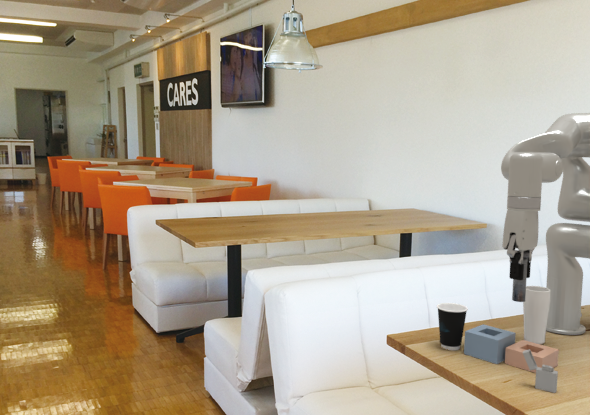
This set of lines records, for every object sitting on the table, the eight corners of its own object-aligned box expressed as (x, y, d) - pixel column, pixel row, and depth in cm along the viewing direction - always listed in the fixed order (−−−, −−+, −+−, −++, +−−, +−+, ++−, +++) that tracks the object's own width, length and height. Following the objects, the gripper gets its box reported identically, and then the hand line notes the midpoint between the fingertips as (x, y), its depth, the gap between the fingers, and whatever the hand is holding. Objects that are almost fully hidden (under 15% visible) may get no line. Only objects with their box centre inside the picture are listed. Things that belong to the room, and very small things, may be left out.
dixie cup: (468, 345, 146) (470, 305, 144) (462, 354, 139) (464, 312, 138) (439, 340, 149) (440, 301, 148) (431, 348, 142) (433, 308, 141)
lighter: (556, 390, 118) (559, 354, 117) (555, 393, 117) (557, 357, 116) (522, 382, 122) (524, 347, 121) (520, 384, 121) (522, 350, 120)
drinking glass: (550, 347, 145) (553, 292, 144) (523, 344, 146) (526, 290, 145) (544, 338, 152) (547, 286, 150) (518, 336, 153) (521, 284, 152)
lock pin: (514, 297, 136) (517, 250, 135) (529, 300, 133) (532, 252, 132) (507, 300, 133) (510, 252, 132) (522, 303, 131) (525, 254, 130)
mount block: (521, 354, 139) (522, 339, 139) (557, 365, 132) (558, 349, 132) (504, 363, 133) (505, 347, 133) (541, 374, 126) (542, 358, 126)
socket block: (482, 346, 145) (483, 324, 144) (514, 355, 138) (515, 332, 138) (464, 353, 139) (465, 331, 139) (496, 364, 132) (498, 340, 132)
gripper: (523, 201, 139) (519, 271, 141) (493, 204, 128) (489, 280, 130) (553, 203, 134) (548, 276, 136) (524, 206, 123) (520, 286, 125)
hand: (519, 277), depth 133 cm, fingers closed on lock pin, 3 cm apart
